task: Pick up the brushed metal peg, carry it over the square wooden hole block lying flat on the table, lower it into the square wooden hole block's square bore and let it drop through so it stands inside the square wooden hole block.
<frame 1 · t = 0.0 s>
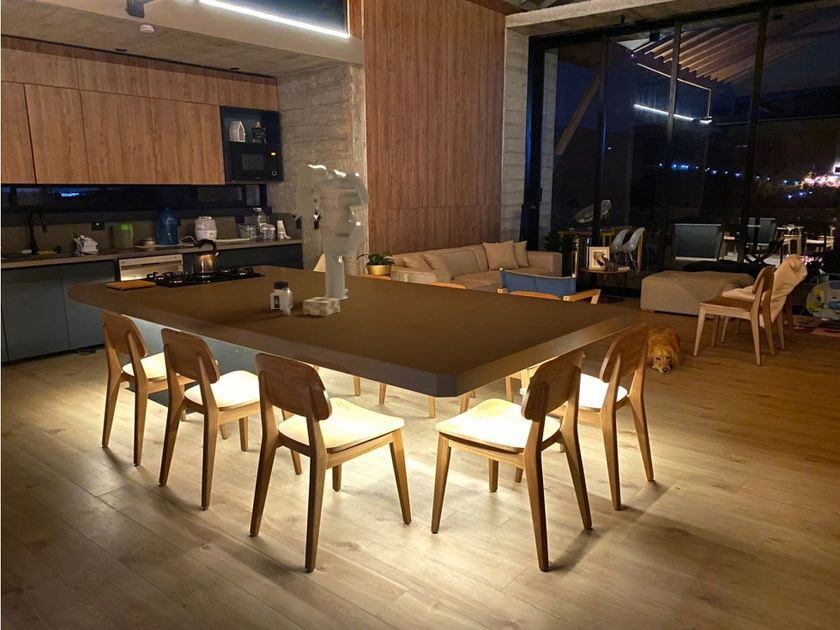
hand: (307, 229, 297), 37 cm above the table, tool pointing down, fingers open, 9 cm apart
square wooden hole block: (321, 312, 288), on the table
peg: (286, 314, 284), on the table
container: (282, 308, 299), on the table
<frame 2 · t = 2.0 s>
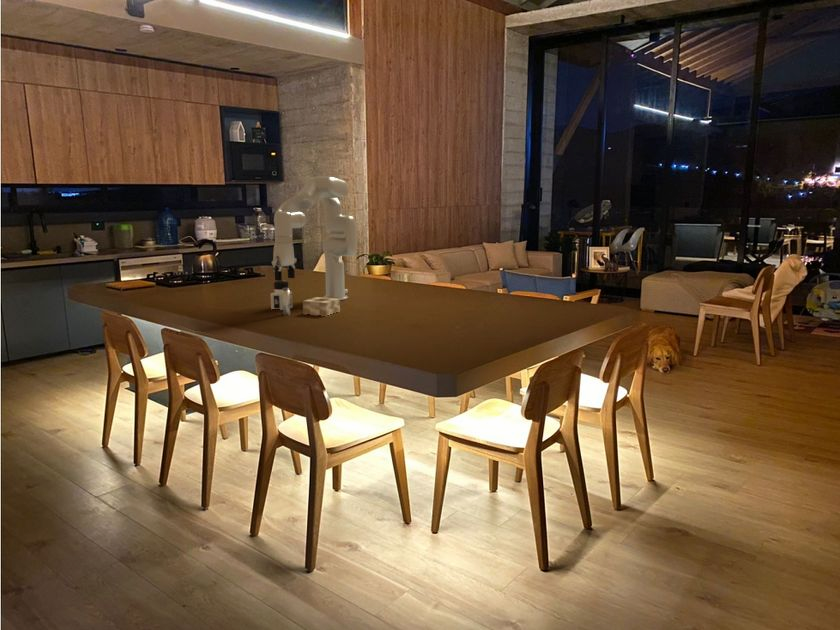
hand: (284, 279, 280), 16 cm above the table, tool pointing down, fingers open, 9 cm apart
nothing on the table moved.
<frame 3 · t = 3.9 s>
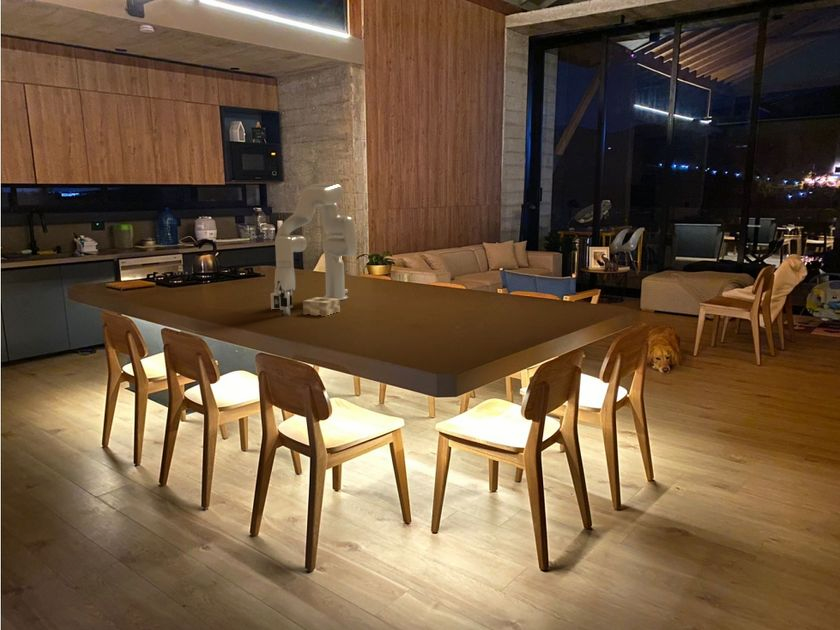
hand: (286, 305, 283), 4 cm above the table, tool pointing down, fingers closed on peg, 3 cm apart
peg: (286, 314, 284), on the table, touching gripper
everything else where it was.
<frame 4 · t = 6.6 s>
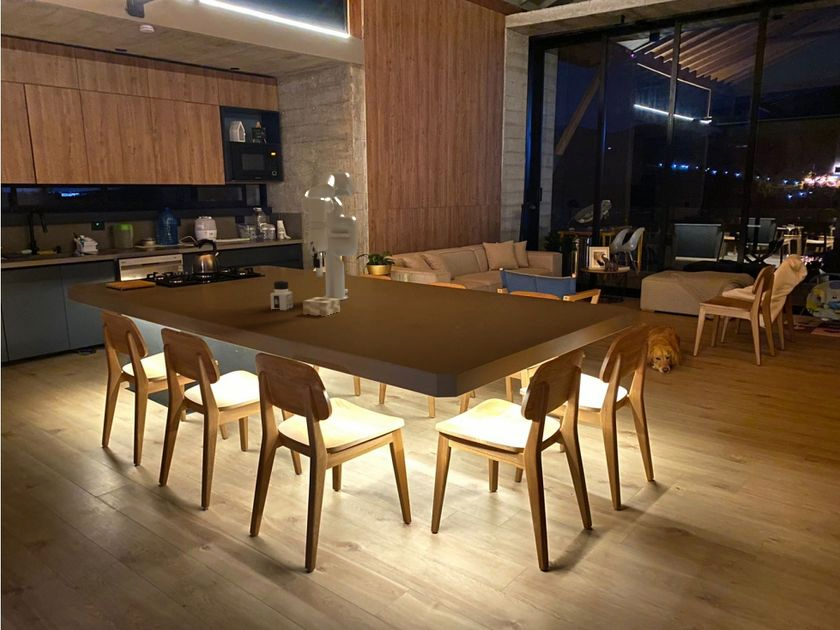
hand: (319, 266, 284), 21 cm above the table, tool pointing down, fingers closed on peg, 3 cm apart
peg: (319, 276, 285), point 17 cm above the table, touching gripper
everything else where it was.
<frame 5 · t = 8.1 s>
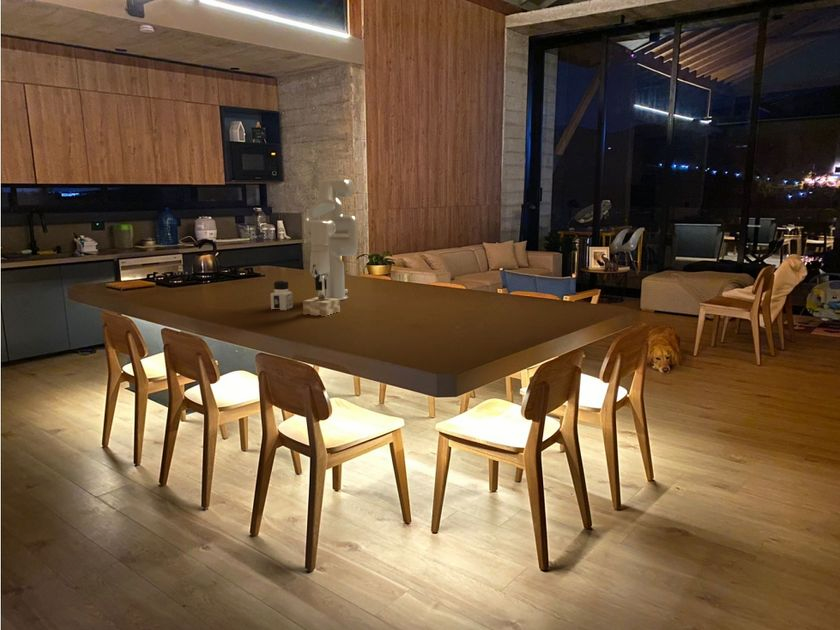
hand: (321, 289, 286), 11 cm above the table, tool pointing down, fingers closed on peg, 3 cm apart
peg: (321, 298, 287), point 7 cm above the table, touching gripper
everything else where it was.
when the fingers open (8 cm above the table, at t = 9.3 s): peg drops 3 cm, resting in square wooden hole block.
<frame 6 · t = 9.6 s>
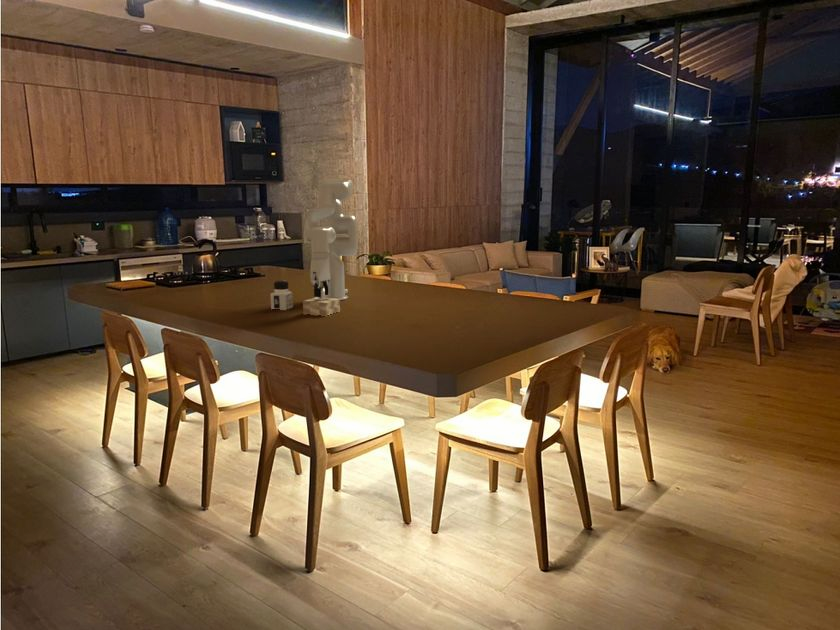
hand: (321, 295, 287), 8 cm above the table, tool pointing down, fingers open, 5 cm apart
peg: (321, 312, 288), resting in square wooden hole block
everything else where it was.
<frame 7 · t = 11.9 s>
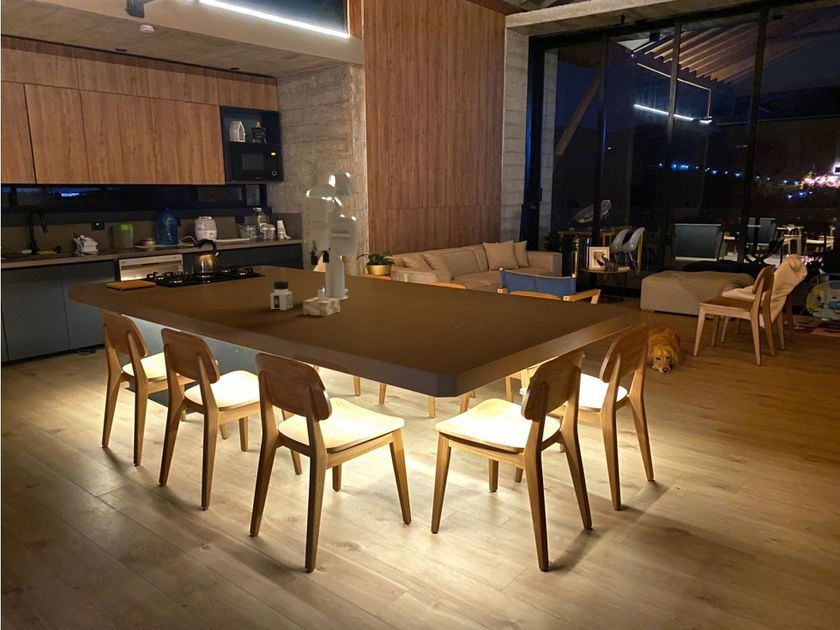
hand: (320, 263, 284), 22 cm above the table, tool pointing down, fingers open, 9 cm apart
nothing on the table moved.
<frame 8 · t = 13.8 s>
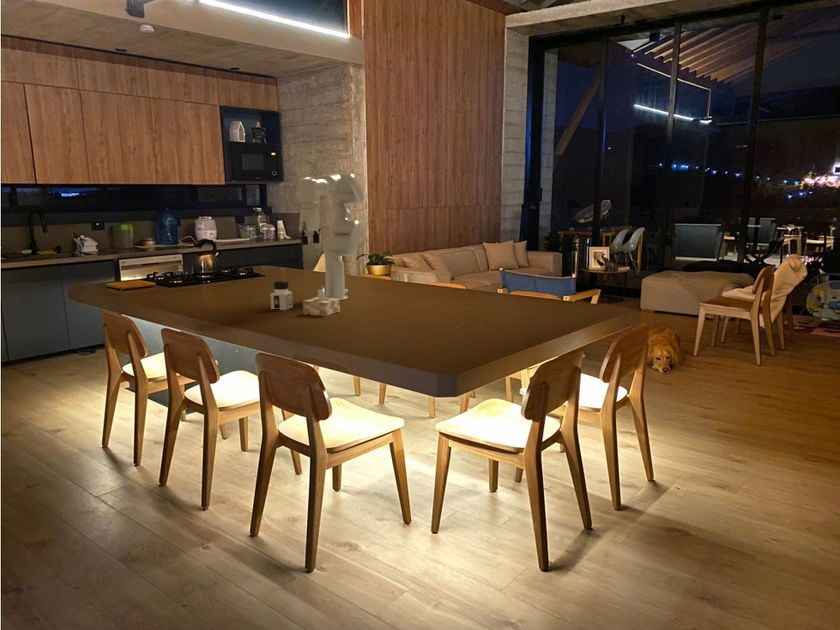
hand: (310, 243, 293), 30 cm above the table, tool pointing down, fingers open, 9 cm apart
nothing on the table moved.
at the end: peg 0.0 cm off-centre on the square wooden hole block, point 0.0 cm above the square wooden hole block's base; peg tilted 0°; the gripper is holding nothing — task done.
